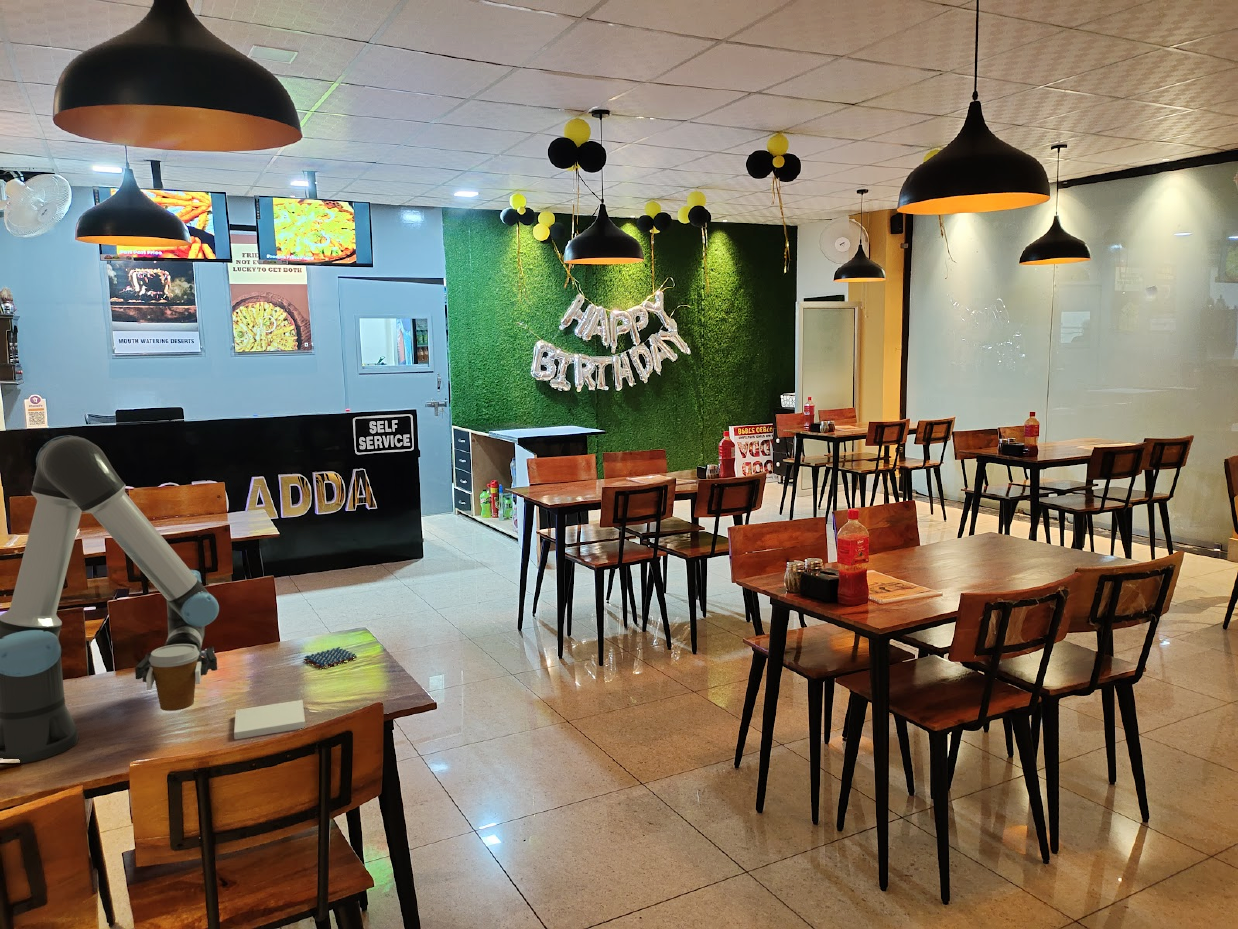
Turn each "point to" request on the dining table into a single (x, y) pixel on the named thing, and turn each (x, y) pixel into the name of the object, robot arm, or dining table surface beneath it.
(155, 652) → the disposable coffee cup
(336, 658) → the woven mat
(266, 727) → the pad
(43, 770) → the dining table surface
